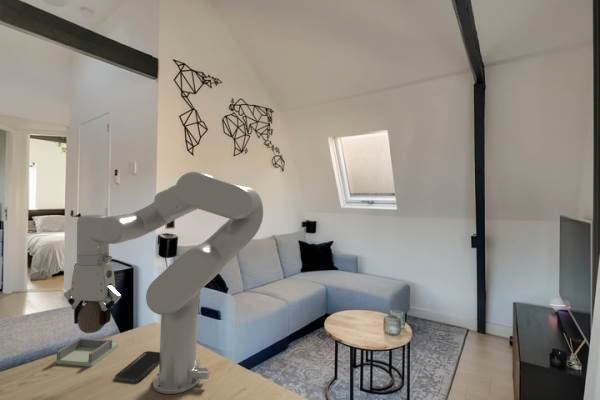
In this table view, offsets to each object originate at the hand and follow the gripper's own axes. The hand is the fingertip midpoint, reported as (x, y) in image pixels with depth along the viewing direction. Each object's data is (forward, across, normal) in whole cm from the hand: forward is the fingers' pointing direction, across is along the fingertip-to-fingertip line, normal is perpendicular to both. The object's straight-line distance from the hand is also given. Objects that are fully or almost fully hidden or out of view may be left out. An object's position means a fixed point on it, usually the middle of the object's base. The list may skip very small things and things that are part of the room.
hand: (92, 322), depth 89 cm
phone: (+16, -11, -6) cm, 20 cm away
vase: (+3, 0, 0) cm, 3 cm away
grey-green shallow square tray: (+15, +9, -10) cm, 20 cm away
